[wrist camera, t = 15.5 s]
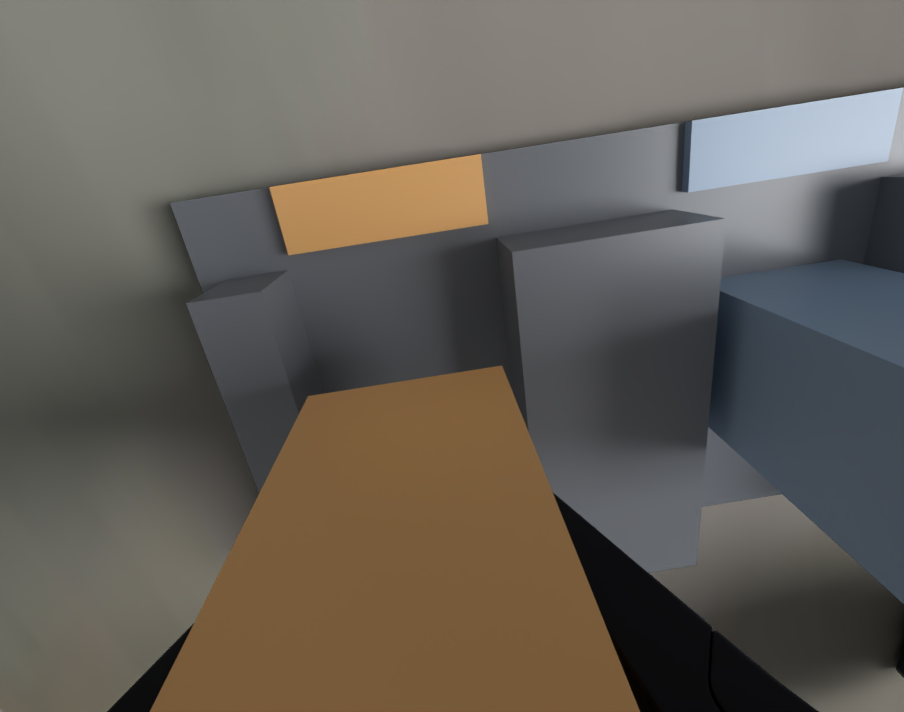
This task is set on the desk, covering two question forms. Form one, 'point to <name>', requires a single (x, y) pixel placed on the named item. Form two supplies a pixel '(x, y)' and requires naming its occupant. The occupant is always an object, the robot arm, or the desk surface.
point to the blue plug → (820, 398)
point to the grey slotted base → (549, 290)
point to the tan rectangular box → (403, 570)
